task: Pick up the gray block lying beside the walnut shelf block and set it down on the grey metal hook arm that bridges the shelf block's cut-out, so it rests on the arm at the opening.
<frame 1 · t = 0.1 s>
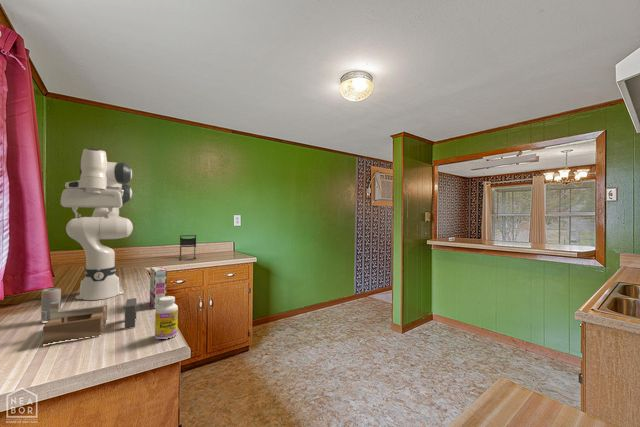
hand: (92, 218, 117), 39 cm above the counter, tool pointing down, fingers open, 8 cm apart
energy drink: (51, 321, 105), on the counter
supplement bottle: (166, 336, 94), on the counter
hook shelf: (78, 332, 96), on the counter
gray block: (130, 323, 104), on the counter
candy bar box: (157, 305, 125), on the counter
chair: (187, 259, 249), on the counter
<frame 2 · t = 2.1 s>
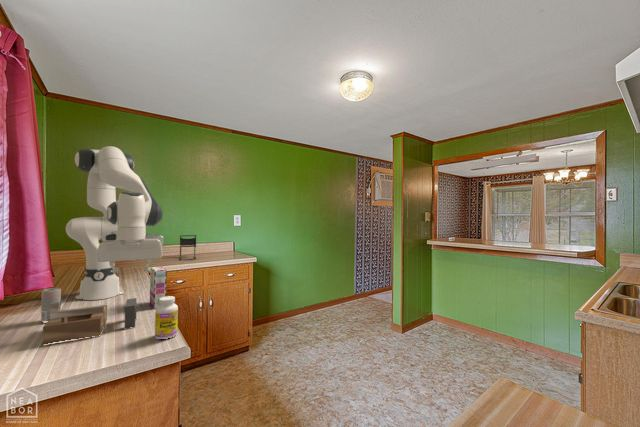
hand: (131, 272, 104), 19 cm above the counter, tool pointing down, fingers open, 8 cm apart
nothing on the counter moved.
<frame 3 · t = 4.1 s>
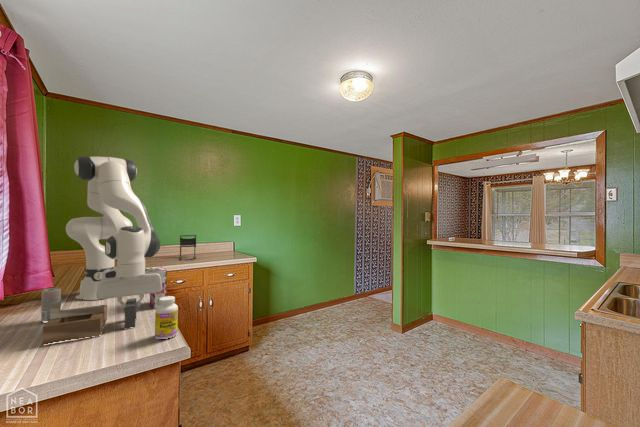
hand: (130, 307, 104), 6 cm above the counter, tool pointing down, fingers closed on gray block, 3 cm apart
gray block: (130, 323, 104), on the counter, touching gripper
everything else where it was.
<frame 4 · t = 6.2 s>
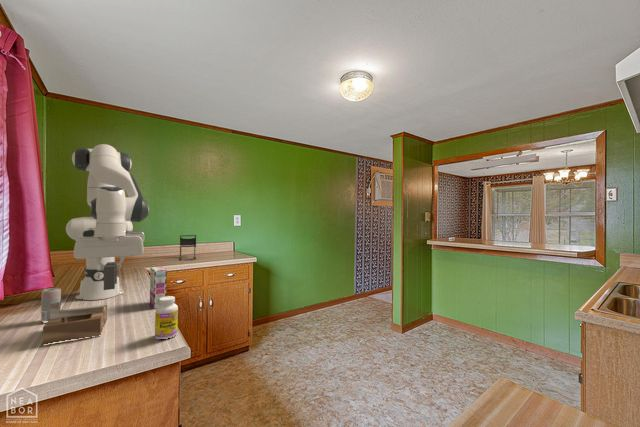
hand: (110, 269, 101), 21 cm above the counter, tool pointing down, fingers closed on gray block, 3 cm apart
gray block: (110, 286, 101), point 15 cm above the counter, touching gripper
everything else where it was.
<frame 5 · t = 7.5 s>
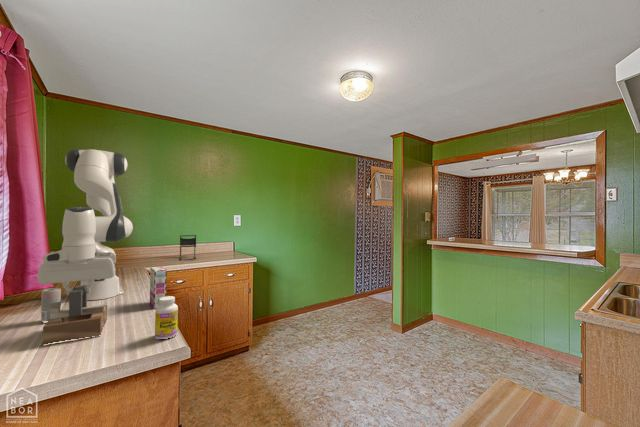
hand: (78, 293, 96), 13 cm above the counter, tool pointing down, fingers closed on gray block, 3 cm apart
gray block: (78, 311, 96), point 7 cm above the counter, touching gripper
everything else where it was.
when the fingers open (10 cm above the counter, at t = 8.4 s): gray block drops 1 cm, resting on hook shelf.
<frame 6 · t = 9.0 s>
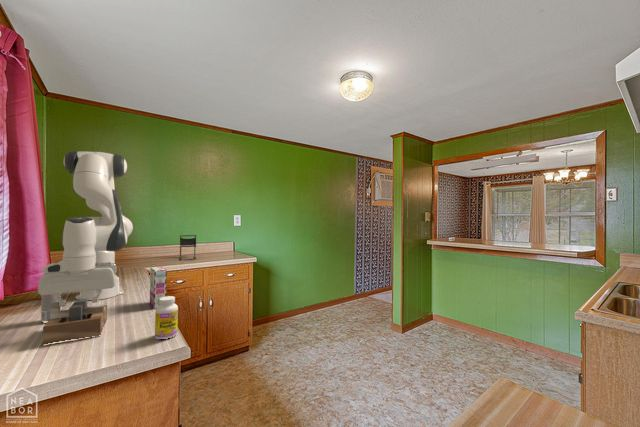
hand: (79, 304, 96), 10 cm above the counter, tool pointing down, fingers open, 7 cm apart
gray block: (78, 326, 96), point 2 cm above the counter, touching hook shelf
everything else where it was.
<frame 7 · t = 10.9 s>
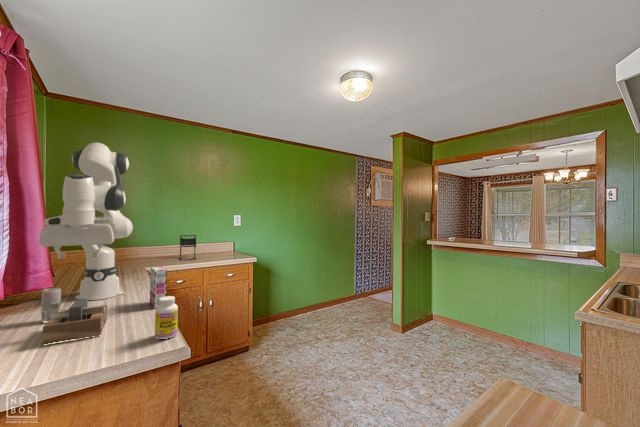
hand: (79, 257, 101), 25 cm above the counter, tool pointing down, fingers open, 8 cm apart
nothing on the counter moved.
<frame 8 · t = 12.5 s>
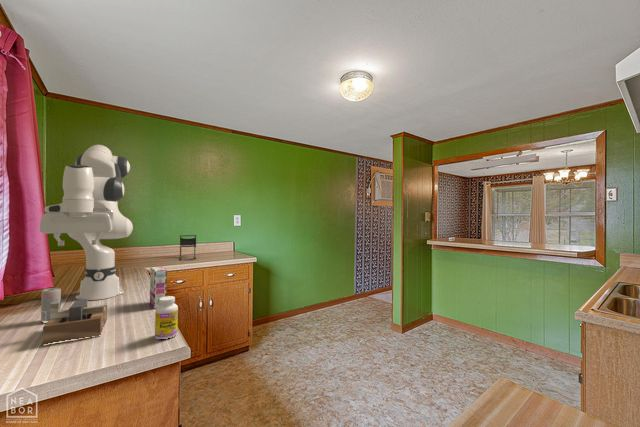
hand: (78, 245, 103), 29 cm above the counter, tool pointing down, fingers open, 8 cm apart
nothing on the counter moved.
at the end: gray block 0.0 cm off-centre on the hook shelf, point 2.0 cm above the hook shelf's base; gray block touching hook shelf; the gripper is holding nothing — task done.
